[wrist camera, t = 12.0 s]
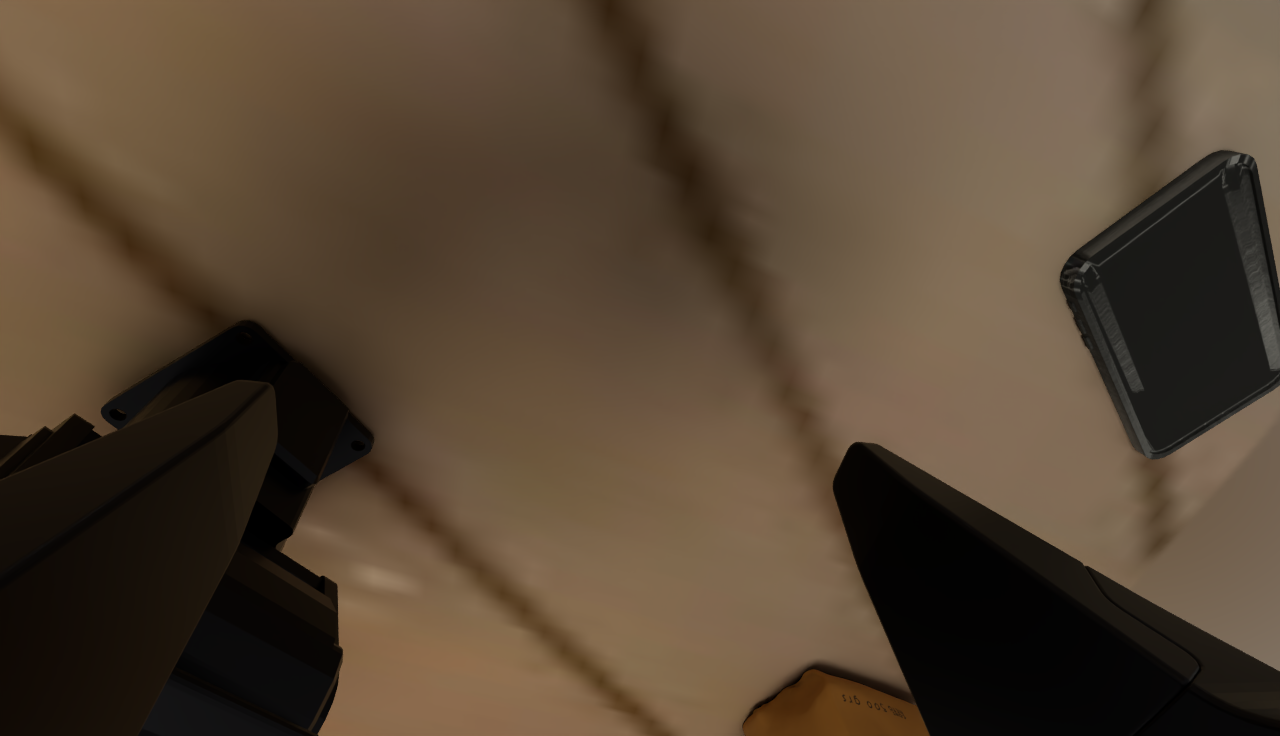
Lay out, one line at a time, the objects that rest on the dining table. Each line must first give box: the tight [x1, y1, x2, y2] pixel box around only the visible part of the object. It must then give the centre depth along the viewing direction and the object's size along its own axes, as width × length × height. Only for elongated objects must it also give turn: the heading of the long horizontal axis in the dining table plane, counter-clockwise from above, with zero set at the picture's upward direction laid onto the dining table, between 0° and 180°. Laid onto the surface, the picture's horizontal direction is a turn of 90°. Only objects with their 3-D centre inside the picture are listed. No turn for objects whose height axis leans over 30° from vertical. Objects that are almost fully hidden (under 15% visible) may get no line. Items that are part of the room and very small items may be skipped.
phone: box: [1060, 150, 1280, 459], centre depth 28 cm, size 8×1×15 cm
